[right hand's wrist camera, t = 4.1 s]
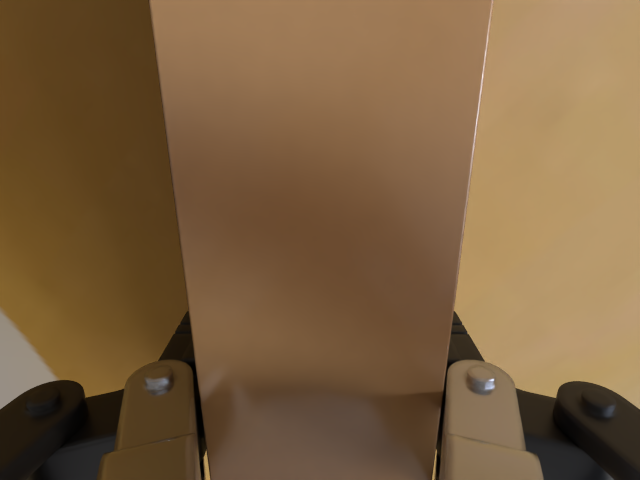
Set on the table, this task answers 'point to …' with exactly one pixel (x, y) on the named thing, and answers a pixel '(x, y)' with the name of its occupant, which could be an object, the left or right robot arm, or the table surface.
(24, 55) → the table surface
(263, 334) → the bar
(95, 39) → the table surface
